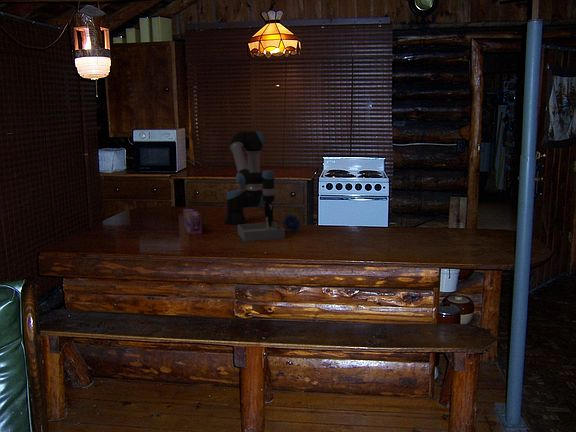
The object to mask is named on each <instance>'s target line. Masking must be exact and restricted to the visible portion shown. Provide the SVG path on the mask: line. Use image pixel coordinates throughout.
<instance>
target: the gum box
mask: <svg viewBox="0 0 576 432" xmlns="http://www.w3.org/2000/svg"><path fill="white" fill-rule="evenodd" d="M182 209H183V211H182V212H183V227H184V229H185V230H186V231H187V233H189V234H190V235H201V234H203V222H202V212H201V211H199V210H197V208H196V207H189V208H188V207H187V208H185V207H184V208H182Z"/></svg>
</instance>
